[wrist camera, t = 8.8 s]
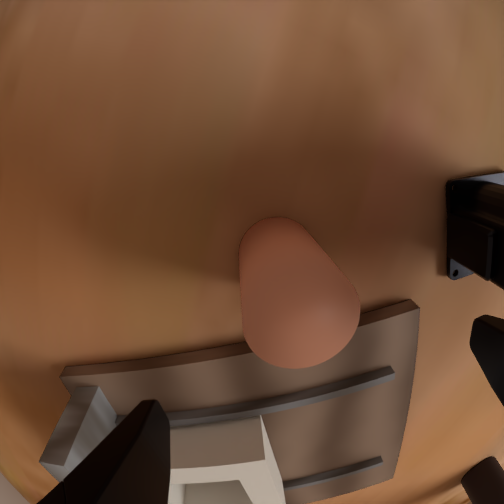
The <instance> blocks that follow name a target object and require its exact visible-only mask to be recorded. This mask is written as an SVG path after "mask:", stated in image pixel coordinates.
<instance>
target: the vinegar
mask: <svg viewBox="0 0 504 504" xmlns="http://www.w3.org/2000/svg"><path fill="white" fill-rule="evenodd" d="M461 484H462V486H463V487H464V489H465V491H466V493H467V495H468V497H469V498H470V500H471V502H472V504H504V470H503V469H502V467H501V466H500V464H499V463H498V461H497V460H496V458H495V457H489V458H487V459H485V460H483V461H482V462H480V463H479V464H478V465H476V466H475V467H474V468H472V469H471V470H470V471H469V472H468V473H467V474H466V475H465V476H464V477H463V479H462V481H461Z"/></svg>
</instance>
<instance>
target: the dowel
mask: <svg viewBox="0 0 504 504" xmlns="http://www.w3.org/2000/svg"><path fill="white" fill-rule="evenodd" d="M239 271H240V289H241V307H242V324H243V332H244V336H245V339H246V342H247V343H248V345H249V347H250V348H251V350H252V351H253V352H254V353H255V354H256V355H257V356H258V357H259V358H261V359H262V360H264V361H265V362H267V363H269V364H272V365H274V366H278V367H281V368H288V369H299V368H307V367H311V366H315V365H318V364H320V363H323V362H325V361H327V360H329V359H330V358H332V357H333V356H335V355H336V354H337V353H339V352H340V351H341V350H342V349H343V348H344V347H345V346H346V345H347V344H348V342H349V341H350V340H351V338H352V337H353V335H354V333H355V331H356V329H357V326H358V323H359V318H360V302H359V298H358V294H357V292H356V290H355V288H354V287H353V285H352V284H351V283H350V281H349V280H348V279H347V278H346V276H345V275H344V274H343V273H342V272H341V270H340V269H339V268H338V267H337V266H336V264H335V263H334V262H333V261H332V260H331V259H330V257H329V256H328V255H327V254H326V253H325V252H324V250H323V249H322V248H321V247H320V246H319V244H318V243H317V242H316V241H315V240H314V239H313V238H312V236H311V235H310V234H309V233H308V232H307V231H306V229H305V228H304V227H303V226H301V225H300V224H299V223H297V222H296V221H294V220H291V219H288V218H284V217H271V218H267V219H264V220H261V221H259V222H257V223H256V224H254V225H253V226H252V227H251V228H250V229H249V230H248V231H247V232H246V233H245V235H244V237H243V238H242V241H241V243H240V247H239Z"/></svg>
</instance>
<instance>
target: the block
mask: <svg viewBox="0 0 504 504" xmlns="http://www.w3.org/2000/svg"><path fill="white" fill-rule="evenodd" d="M170 458H171V474H170V486H169V496H168V504H286V502H285V496H284V489H283V483H282V478H281V475H280V472H279V469H278V466H277V463H276V460H275V457H274V454H273V451H272V448H271V445H270V442H269V439H268V436H267V433H266V430H265V426H264V423H263V420H262V417H261V415H257V416H251V417H245V418H239V419H233V420H226V421H218V422H211V423H202V424H193V425H182V426H170Z"/></svg>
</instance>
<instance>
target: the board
mask: <svg viewBox="0 0 504 504" xmlns="http://www.w3.org/2000/svg"><path fill="white" fill-rule="evenodd" d="M419 317H420V307H419V306H417V305H416V304H415V303H414V302H413V301H412V300H408V301H405V302H401V303H398V304H395V305H392V306H388V307H385V308H382V309H378V310H375V311H371V312H368V313H364V314H361V315H360V318H359V323H358V326H357V329H356V331H355V333H354V335H353V337H352V338H351V340H350V341H349V342H348V344H347V345H346V346H345V347H344V348H343V349H342V350H341V351H340V352H339V353H337V354H336V355H335V356H333V357H332V358H330V359H329V360H327V361H325V362H323V363H320V364H318V365H315V366H311V367H307V368H299V369H288V368H281V367H278V366H274V365H272V364H269V363H267V362H265V361H264V360H262V359H261V358H259V357H258V356H257V355H256V354H255V353H254V352H253V351H252V350H251V348H250V347H249V345H248V343H247V342H243V343H238V344H233V345H227V346H222V347H216V348H211V349H205V350H199V351H193V352H187V353H181V354H174V355H168V356H161V357H154V358H146V359H138V360H130V361H122V362H113V363H103V364H93V365H82V366H69V367H65V369H64V370H63V372H62V373H61V375H60V376H59V377H60V379H61V380H62V382H63V384H64V385H65V387H66V388H67V390H68V392H69V393H70V395H71V398H70V400H69V402H68V404H67V406H66V408H65V410H64V411H63V413H62V415H61V417H60V419H59V421H58V423H57V425H56V427H55V429H54V431H53V433H52V435H51V437H50V439H49V441H48V443H47V445H46V448H45V450H44V452H43V454H42V456H41V458H40V460H39V462H40V464H41V465H42V466H43V467H44V468H45V469H46V470H47V471H48V472H49V473H50V474H51V475H52V476H53V477H54V478H55V479H56V480H57V481H58V482H61V481H63V479H64V478H65V477H66V476H67V475H68V474H69V473H70V472H71V471H72V470H73V469H74V468H75V467H76V466H77V465H78V464H79V463H80V462H81V461H82V460H83V459H84V458H85V457H86V456H87V455H88V454H89V453H90V452H91V451H92V450H93V449H94V448H95V447H96V446H97V445H98V444H99V443H100V442H101V441H102V440H103V439H104V438H105V437H106V436H107V435H108V434H109V433H110V432H111V431H112V430H113V429H114V428H115V427H116V426H117V425H118V424H119V423H120V422H121V421H122V420H123V419H124V418H125V417H126V416H127V415H128V414H129V413H130V412H131V411H132V410H133V409H134V408H135V407H136V406H137V405H138V404H139V403H140V402H141V401H142V400H147V399H156V400H158V401H159V403H160V404H161V406H162V408H163V410H164V412H165V413H166V415H167V417H168V419H169V422H170V426H182V425H193V424H202V423H211V422H218V421H226V420H233V419H239V418H245V417H251V416H257V415H261V417H262V420H263V423H264V426H265V430H266V433H267V436H268V439H269V442H270V445H271V448H272V451H273V454H274V457H275V460H276V463H277V466H278V469H279V472H280V475H281V478H282V483H283V489H284V496H285V502H286V504H306V503H311V502H315V501H320V500H324V499H328V498H332V497H336V496H339V495H343V494H347V493H350V492H353V491H357V490H360V489H363V488H366V487H369V486H372V485H375V484H378V483H381V482H384V481H387V480H390V479H392V478H393V476H394V472H395V469H396V465H397V461H398V457H399V453H400V449H401V444H402V440H403V435H404V431H405V426H406V421H407V415H408V410H409V404H410V398H411V392H412V385H413V378H414V371H415V362H416V353H417V343H418V331H419Z"/></svg>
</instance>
